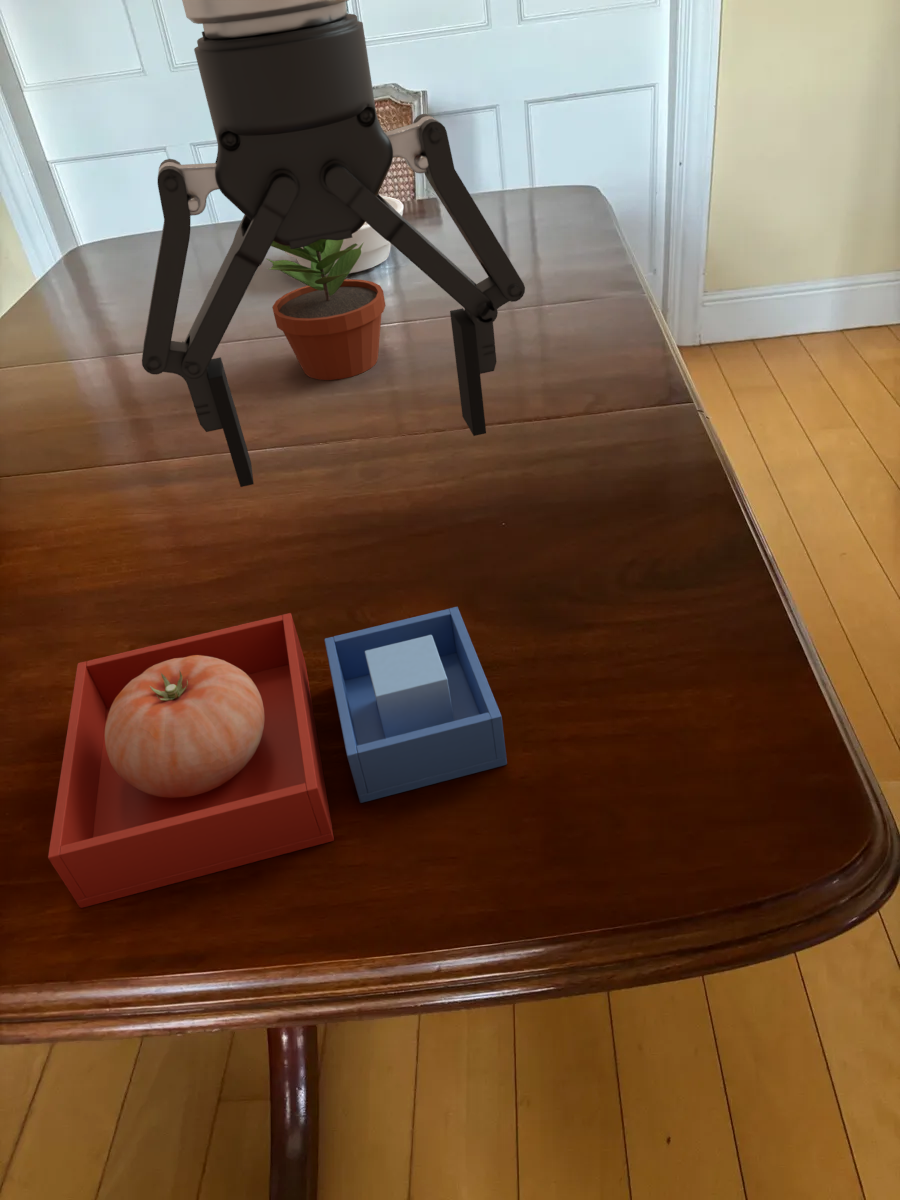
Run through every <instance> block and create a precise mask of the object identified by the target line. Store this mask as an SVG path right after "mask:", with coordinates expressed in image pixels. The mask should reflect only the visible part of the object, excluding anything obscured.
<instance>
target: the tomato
mask: <svg viewBox="0 0 900 1200" xmlns="http://www.w3.org/2000/svg"><path fill="white" fill-rule="evenodd" d="M263 729H264V707H263V702H262V698H261V695H260V693H259V691H258V689H257V687H256V685H255V684H254V682H253V681H252V680H251V678H250V677H249V676H248V675H247V674H246V673H245V672H244V671H242V670H241V669H239V668H237V667H236V666H234V665H232V664H230V663H228V662H226V661H224V660H221V659H217V658H213V657H208V656H201V655H193V656H188V657H184V658H174V659H170V660H167V661H164V662H161V663H159V664H156V665H153V666H152V667H150V668H148V669H147V670H145V671H144V672H143V673H142V674H141V675H139V676H138V677H136V678H134V679H133V680H131V681H130V682H129V683H128V684H127V685H126V686H125V687H124V688H123V690H122V691H121V692H120V693H119V694H118V696H117V697H116V698H115V700H114V702H113V704H112V706H111V708H110V711H109V714H108V718H107V721H106V725H105V745H106V750H107V754H108V757H109V760H110V763H111V765H112V767H113V768H114V770H115V771H116V772H117V774H118V775H119V776H121V777H122V778H123V779H124V780H125V781H127V782H128V783H129V784H131V785H132V786H134V787H135V788H137V789H139V790H141V791H143V792H145V793H147V794H150V795H154V796H159V797H168V798H177V797H189V796H195V795H198V794H202V793H205V792H208V791H210V790H212V789H214V788H217V787H219V786H221V785H222V784H224V783H225V782H227V781H228V780H230V779H231V778H233V777H234V776H235V775H236V774H237V773H238V772H240V771H241V770H242V769H243V768H244V767H245V766H246V764H247V763H248V762H249V761H250V759H251V758H252V757H253V755H254V753H255V752H256V750H257V748H258V746H259V743H260V741H261V738H262V734H263Z"/></svg>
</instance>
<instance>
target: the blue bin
mask: <svg viewBox="0 0 900 1200" xmlns="http://www.w3.org/2000/svg"><path fill="white" fill-rule="evenodd" d="M428 635H432V636H433V639H434V642H435V645H436V648H437V651H438V654H439V656H440V659H441V662H442V665H443V668H444V671H445V673H446V676H447V680H448V686H449V692H450V698H451V704H452V710H453V716H454V721H452V722H448V723H444V724H440V725H436V726H433V727H429V728H425V729H421V730H417V731H413V732H409V733H405V734H401V735H397V736H393V737H389V738H386V739H385V735H384V731H383V727H382V723H381V719H380V714H379V710H378V706H377V702H376V698H375V694H374V690H373V685H372V681H371V677H370V673H369V668H368V664H367V660H366V656H365V651H366V650H371V649H375V648H379V647H383V646H387V645H391V644H395V643H399V642H403V641H407V640H412V639H416V638H420V637H424V636H428ZM324 644H325V651H326V655H327V660H328V661H327V662H328V666H329V671H330V677H331V681H332V687H333V691H334V696H335V702H336V707H337V711H338V717H339V722H340V727H341V733H342V737H343V743H344V749H345V753H346V757H347V761H348V766H349V769H350V772H351V776H352V780H353V784H354V786H355V787H354V788H355V791H356V794H357V797H358V802H359V803H360V804H363V803H367V802H372V801H375V800H378V799H381V798H385V797H390V796H393V795H397V794H401V793H405V792H409V791H412V790H417V789H420V788H423V787H428V786H431V785H435V784H439V783H443V782H446V781H451V780H455V779H458V778H462V777H465V776H469V775H473V774H477V773H481V772H485V771H489V770H492V769H496V768H500V767H504V766H507V764H508V761H507V759H508V758H507V752H506V751H507V750H506V743H505V733H504V724H503V717H502V713H501V712H500V709H499V706H498V703H497V701H496V699H495V697H494V694H493V691H492V689H491V687H490V684H489V682H488V679H487V677H486V674H485V672H484V669H483V667H482V664H481V662H480V659H479V657H478V654H477V652H476V649H475V647H474V644H473V642H472V639H471V637H470V634H469V632H468V629H467V627H466V625H465V622H464V619H463V617H462V614H461V611H460V610H459V607H458V606H454V607H450V608H446V609H442V610H437V611H433V612H429V613H425V614H421V615H417V616H413V617H408V618H404V619H401V620H395V621H392V622H388V623H384V624H381V625H380V624H379V625H376V626H371V627H367V628H363V629H359V630H355V631H350V632H347V633H342V634H338V635H334V636H330V637H325V638H324Z"/></svg>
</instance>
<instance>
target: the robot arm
mask: <svg viewBox="0 0 900 1200" xmlns="http://www.w3.org/2000/svg"><path fill="white" fill-rule="evenodd" d="M181 1H182V5H183V9H184V14H185V18H186V19H187V20H189V21H190V22H191V23H192V24H195V25H196V24H197V25H201V24H202V28H203V30H202V31H201V35H202V36H201V37H200V38H198V39H197V40H196V43H197V46H196V47H194V49H193V51H194V55H195V60H196V63H197V67H198V71H199V74H200V79H201V83H202V86H203V91H204V94H205V95H204V96H205V98H206V102H207V103H206V104H207V106H208V111H209V114H210V118H211V122H212V126H213V127H212V128H213V130H214V135H215V138H216V143H217V154H216V159H215V162H207V163H205V162H204V163H189V164H188V163H187V164H181V162H180V161H178V160H177V159H174V158H166V159H164V160H163V161H162V162H161V163H160V164H159V167H158V171H157V189H158V194H159V199H160V204H161V211H162V216H163V225H162V231H161V237H160V243H159V248H158V254H157V262H156V266H155V267H156V268H155V272H154V279H153V285H152V291H151V296H150V303H149V310H148V316H147V322H146V327H145V334H144V340H143V347H142V355H141V356H142V357H141V366H142V368H143V370H144V371H146V372H147V373H148V374H150V375H161V374H163V373H169V374H174V375H178V376H179V377H181V378H182V379H183V380H184V381H185V383H186V385H187V389H188V391H189V395H190V398H191V401H192V403H193V407H194V410H195V414H196V416H197V420H198V422H199V426H201V428H202V429H203V431H205V433H209V432H214V431H217V430H222V431H223V434H224V437H225V440H226V444H227V448H228V451H229V454H230V457H231V461H232V464H233V468H234V470H235V474H236V477H237V480H238V484H239V488H243V487H249V486H252V485H255V483H254V475H253V474H254V473H253V466H252V461H251V457H250V453H249V451H248V447H247V443H246V440H245V436H244V433H243V429H242V426H241V423H240V419H239V416H238V413H237V408H236V406H235V402H234V398H233V395H232V391H231V387H230V384H229V380H228V377H227V373H226V371H225V367H224V363H223V360H222V357H215V358H213V357H214V355H215V353H216V351H217V349H218V347H219V346H220V343H221V341H222V339H223V337H224V335H225V333H226V331H227V329H228V328H229V325H230V323H231V321H232V320H233V318H234V315H235V313H236V312H237V309H238V307H239V306H240V304H241V302H242V299H243V298H244V295H245V293H246V291H247V290H248V288H249V285H250V284H251V281H253V278H254V276H255V274H256V272H257V270H258V268H259V267H260V266H261V265H262V264H263V262H264V260H265V258H266V257H267V254H268V253H269V250H270V248H271V247H272V246H271V244H272V242H273V241H275V242H276V243H278V244H281V245H285V246H290V249H295V248H301V247H306V246H308V245H310V244H312V243H314V242H316V241H318V240H320V239H326V240H343V239H348V238H352V234H353V233H355V232H356V231H358V230H359V229H360V228H361V227H362V226H363V224H364V223H365V222H366V223H367V224H368V225H370V226H371V227H372V228H373V229H374V230H375V231H376V232H377V233H379V234H380V235H381V236H382V237H383V238H384V239H386V240H387V241H389V242H390V243H391V246H393V247H394V248H396V249H397V250H398V252H400V253H401V254H402V255H403V256H404V257H405V258H406V259H408V260H409V261H410V262H411V263H412V264H414V265H415V266H416V267H417V268H418V269H420V270H421V271H422V272H423V273H424V274H425V275H426V276H427V277H429V278H430V280H432V281H433V282H434V283H435V284H436V285H437V286H438V287H440V288H441V289H442V290H443V291H444V292H445V293H446V294H448V296H450V297H451V298H452V299H453V300H455V301H456V302H457V303H458V304H459V305H460V306H461V307H462V308H457V309H453V310H450V311H449V315H450V322H451V331H452V339H453V348H454V356H455V357H454V358H455V365H456V366H455V367H456V373H457V381H458V390H459V399H460V407H461V408H460V409H461V415H462V416H461V417H462V418H463V420H464V421H465V424H466V425H467V427H468V429H469V430H470V432H471V434H472V436H473V437H477V436H480V435H484V434H485V435H486V434H487V428H486V427H487V426H486V419H485V417H486V416H485V408H484V399H483V389H482V379H481V374H486V373H491V372H494V371H495V369H496V365H497V363H498V362H497V353H496V351H497V350H496V341H495V331H494V322H495V321H496V319H497V318H498V309H500V308H501V307H502V306H504V305H505V304H507V303H509V302H511V303H513V302H517V301H520V300H521V299H522V297H524V295H525V292H526V287H525V284H524V282H523V280H522V278H521V277H520V274H519V273H518V272H517V270H516V268H515V267H514V265H513V263H512V262H511V260H510V258H509V257H508V255H507V253H506V252H505V250H504V249H503V247H502V245H501V244H500V243H501V242H499V240H498V238H497V237H496V235H495V233H494V232H493V230H492V229H491V227H490V225H489V223H488V222H487V220H486V218H485V217H484V215H483V213H482V212H481V210H480V209H479V207H478V205H477V204H476V202H475V201H474V199H473V197H472V196H471V194H470V192H469V190H468V189H467V187H466V185H465V184H464V182H463V180H462V179H461V177H460V176H459V175H460V174H459V173H458V172H457V171H456V169H455V165H454V164H455V163H454V160H453V155H452V150H451V146H450V140H449V136H448V131H447V129H446V127H445V126H444V125H443V123H441V122H440V121H439V120H437V119H435V118H434V117H433V116H432V115H430V114H428V113H420V114H418V115H416V117H415V119H414V120H413V122H412V123H411V124H407V125H405V126H401V127H398V128H395V129H392V130H388V131H384V129H383V127H382V125H381V123H380V121H379V118H378V114H377V108H376V102H375V97H374V96H375V95H374V89H373V83H372V77H371V76H372V75H371V69H370V64H369V63H370V62H369V57H368V55H369V54H368V49H367V42H366V36H365V29H364V22H362V21H360V20H358V19H359V18H358V16H357V15H356V14H355V13H348V8H347V2H348V1H349V0H181ZM394 158H401V159H403V160H405V163H406V165H407V166H408V167H409V168H410V169H411V170H412V171H413V172H414V173H416V174H419V175H420V174H424V175H425V177H426V179H427V181H428V184H430V187H431V188H432V190H433V191H434V192H435V194H436V196H437V198H438V199H439V201H440V202H441V204H442V205H443V207H444V209H445V210H446V211H447V213H448V215H449V216H450V218H451V219H452V221H453V223H454V225H455V226H456V227H457V229H458V231H459V232H460V234H461V236H462V237H463V239H464V240H465V242H466V243H467V245H468V247H469V248H470V250H471V252H472V253H473V255H474V256H475V258H476V259H477V261H478V262H479V264H480V266H481V267H482V269H483V271H484V273H485V274H486V275H487V277H486V278H485V279H483V280H480V281H479V282H478V283H476V282H475V281H474V280H473V279H471V277H470V276H468V275H467V274H466V273H465V272H464V271H463V270H462V269H460V268H459V267H458V266H457V265H456V264H455V263H454V262H453V261H452V260H451V259H450V258H448V256H446V255H445V254H444V253H443V252H442V251H441V250H440V249H439V248H438V247H436V245H434V244H433V243H432V242H431V241H430V240H429V239H428V238H427V237H426V236H424V234H422V232H420V231H419V230H418V229H417V228H415V226H414V225H412V224H411V223H410V222H409V221H408V220H407V219H406V218H405V217H404V216H403V215H402V216H401V215H400V214H399V213H398V212H397V211H396V210H395V209H394V208H393V207H392V206H391V205H390V204H389V203H388V202H387V201H386V200H385V199H383V198H382V197H381V196H382V195H380V193H379V192H380V190H381V188H382V186H383V185H384V182H385V179H386V177H387V175H388V174H389V171H390V168H391V167H392V163H393V160H394ZM217 190H219V191H220V193H221V194H222V195H223V196H224V197H225V198H226V199H227V200H228V201H230V203H232V205H234V207H236V208H237V209H238V210H239V211H240V212H241V213H242V214H243V216H242V219H241V221H240V223H239V225H238V227H237V229H236V231H235V234H234V237H233V241H232V243H231V245H230V247H229V249H228V251H227V253H226V256H225V258H224V259H223V261H222V263H221V266H220V268H219V270H218V272H217V274H216V276H215V278H214V279H213V282H212V284H211V286H210V287H209V290H208V293H207V294H206V296H205V299H204V301H203V303H202V304H201V307H200V308H199V311H198V313H197V315H196V317H195V319H194V321H193V323H192V326H191V327H190V330H189V331H188V334H187V335H186V338H185V340H184V341H183V340H182V341H177V340H172V339H173V338H172V337H173V332H174V327H175V322H176V316H177V310H178V306H179V300H180V299H179V298H180V293H181V289H182V283H183V278H184V273H185V267H186V266H185V265H186V261H187V255H188V249H189V245H190V238H191V216H198V215H201V214H202V213H203V212H204V211H205V209H206V207H207V199H208V196H209V195H210V194H211V193H212V192H214V191H217Z"/></svg>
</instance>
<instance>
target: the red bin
mask: <svg viewBox="0 0 900 1200" xmlns="http://www.w3.org/2000/svg"><path fill="white" fill-rule="evenodd" d="M303 652H304V651H303V649H302V645H301V642H300V639H299V636H298V632H297V629H296V625H295V622H294V619H293V616H292V613H291V612H289V613H284V614H280V615H276V616H271V617H267V618H263V619H259V620H255V621H250V622H246V623H242V624H237V625H233V626H229V627H226V628H221V629H217V630H212V631H209V632H204V633H199V634H195V635H192V636H191V635H190V636H187V637H182V638H177V639H175V640H170V641H167V642H161V643H158V644H153V645H148V646H145V647H140V648H136V649H132V650H128V651H123V652H119V653H115V654H110V655H107V656H103V657H98V658H94V659H90V660H86V661H81V662H78V663H77V666H76V672H75V679H74V685H73V691H72V698H71V705H70V710H69V717H68V724H67V732H66V737H65V742H64V743H65V744H64V751H63V759H62V764H61V768H60V769H61V770H60V777H59V784H58V789H57V796H56V803H55V808H54V809H55V810H54V815H53V822H52V827H51V834H50V835H51V836H50V842H49V847H48V855H47V859H48V861H49V862H50V864H51V865H52V867H53V868H54V870H55V871H56V873H57V874H58V876H59V878H60V879H61V881H62V882H63V884H64V886H65V887H66V889H67V890H68V891H69V893H70V895H71V896H72V898H73V899H74V901H75V902H76V904H77V906H78V907H79V908H80V909H83V908H87V907H91V906H95V905H98V904H103V903H105V902H109V901H110V902H111V901H112V900H117V899H120V898H124V897H129V896H132V895H135V894H139V893H144V892H147V891H151V890H154V889H158V888H163V887H165V886H169V885H174V884H177V883H181V882H185V881H189V880H192V879H195V878H200V877H203V876H207V875H210V874H215V873H218V872H222V871H225V870H229V869H233V868H237V867H240V866H245V865H248V864H252V863H256V862H259V861H263V860H267V859H270V858H274V857H278V856H283V855H286V854H290V853H293V852H297V851H301V850H305V849H308V848H312V847H315V846H319V845H323V844H327V843H330V842H334V841H335V838H334V837H335V836H334V829H333V824H332V818H331V812H330V805H329V800H328V793H327V787H326V780H325V775H324V774H325V773H324V769H323V763H322V757H321V756H322V755H321V750H320V744H319V738H318V731H317V726H316V719H315V713H314V706H313V700H312V695H311V688H310V681H309V676H308V670H307V663H306V660H305V657H304V653H303ZM193 655H201V656H208V657H213V658H217V659H221V660H224V661H226V662H228V663H230V664H232V665H234V666H236V667H237V668H239V669H241V670H242V671H244V672H245V673H246V674H247V675H248V676H249V677H250V678H251V680H252V681H253V682H254V684H255V685H256V687H257V689H258V691H259V693H260V695H261V698H262V702H263V707H264V729H263V734H262V738H261V741H260V743H259V746H258V748H257V750H256V752H255V753H254V755H253V757H252V758H251V759H250V761H249V762H248V763H247V764H246V766H245V767H244V768H243V769H242V770H241V771H240V772H238V773H237V774H236V775H235V776H234V777H233V778H231V779H230V780H228V781H227V782H225V783H224V784H222V785H221V786H219V787H217V788H214V789H212V790H210V791H208V792H205V793H202V794H198V795H195V796H189V797H177V798H168V797H159V796H154V795H150V794H147V793H145V792H143V791H141V790H139V789H137V788H135V787H134V786H132V785H131V784H129V783H128V782H127V781H125V780H124V779H123V778H122V777H121V776H119V775H118V774H117V772H116V771H115V770H114V768H113V767H112V765H111V763H110V760H109V757H108V754H107V750H106V745H105V725H106V721H107V718H108V714H109V711H110V708H111V706H112V704H113V702H114V700H115V698H116V697H117V696H118V694H119V693H120V692H121V691H122V690H123V688H124V687H125V686H126V685H127V684H128V683H129V682H130V681H131V680H133V679H134V678H136V677H138V676H139V675H141V674H142V673H143V672H144V671H145V670H147V669H148V668H150V667H152V666H153V665H156V664H159V663H161V662H164V661H167V660H170V659H174V658H184V657H188V656H193Z"/></svg>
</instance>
